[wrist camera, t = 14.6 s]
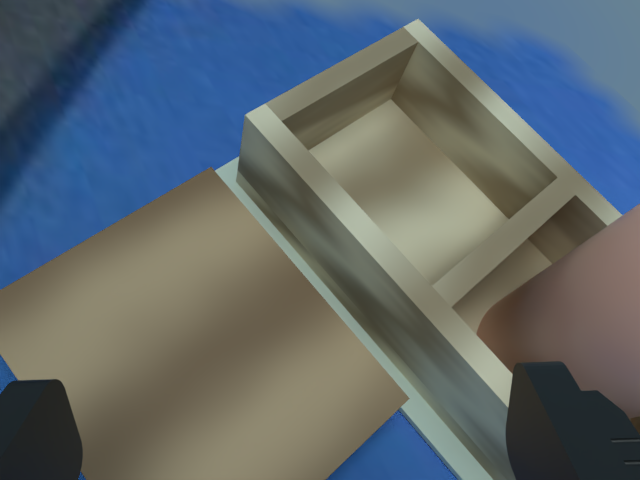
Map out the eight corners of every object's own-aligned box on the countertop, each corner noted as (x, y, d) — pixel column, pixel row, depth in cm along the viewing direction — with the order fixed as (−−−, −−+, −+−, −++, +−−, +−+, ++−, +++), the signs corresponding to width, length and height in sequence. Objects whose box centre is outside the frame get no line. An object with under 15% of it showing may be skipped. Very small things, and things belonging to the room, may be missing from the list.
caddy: (235, 181, 26) (244, 114, 22) (385, 90, 31) (417, 18, 26) (552, 548, 22) (641, 556, 18) (674, 384, 27) (771, 358, 22)
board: (-5, 333, 22) (-32, 308, 19) (209, 202, 26) (211, 166, 24) (182, 604, 20) (181, 618, 17) (385, 411, 24) (409, 398, 21)
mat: (204, 181, 27) (204, 176, 26) (383, 74, 32) (385, 69, 31) (550, 589, 22) (556, 590, 22) (695, 389, 27) (701, 387, 27)
